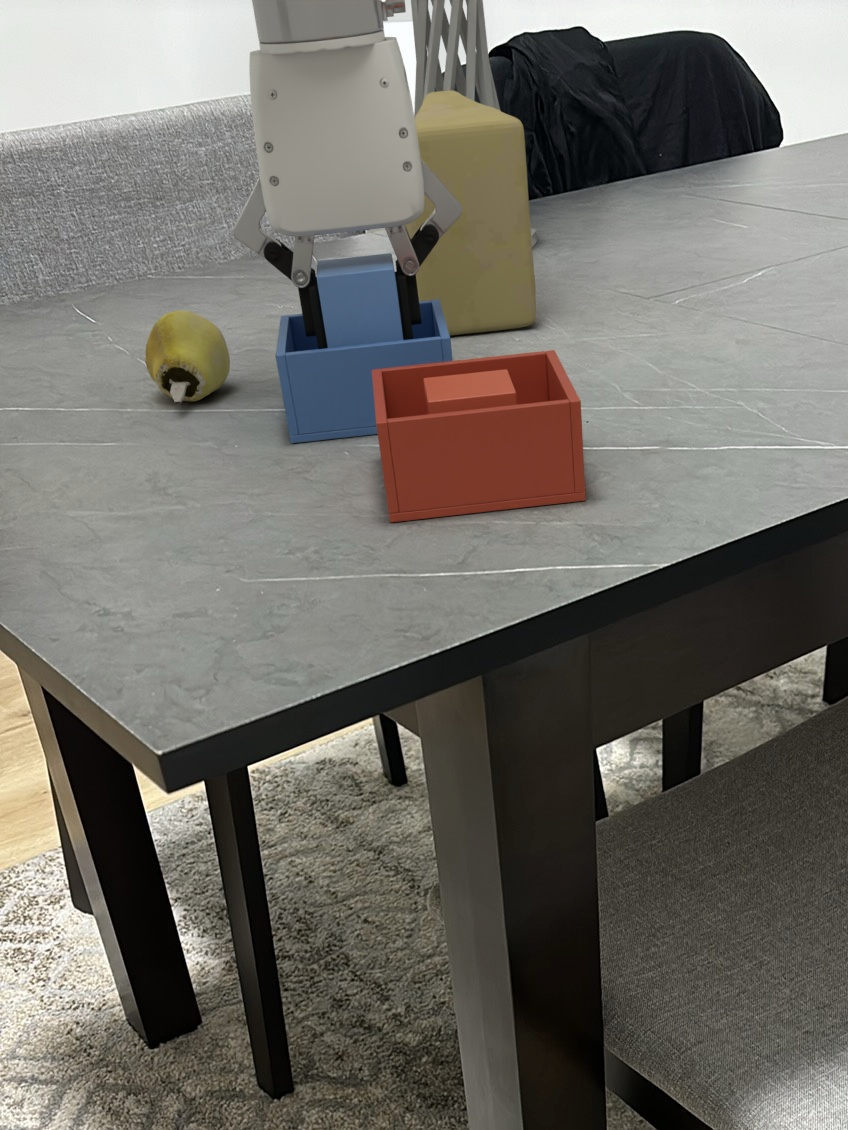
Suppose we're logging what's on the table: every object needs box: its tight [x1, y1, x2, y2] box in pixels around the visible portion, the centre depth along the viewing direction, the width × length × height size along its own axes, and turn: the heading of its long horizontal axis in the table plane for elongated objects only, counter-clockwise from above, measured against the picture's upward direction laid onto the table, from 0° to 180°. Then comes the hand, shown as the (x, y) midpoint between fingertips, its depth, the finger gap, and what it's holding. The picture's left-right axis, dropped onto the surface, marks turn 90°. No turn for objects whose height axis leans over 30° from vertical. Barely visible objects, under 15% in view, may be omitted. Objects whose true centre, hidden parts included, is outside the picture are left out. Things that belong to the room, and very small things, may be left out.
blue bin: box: [275, 299, 454, 444], centre depth 95 cm, size 11×11×6 cm
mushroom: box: [144, 309, 231, 405], centre depth 100 cm, size 6×6×10 cm
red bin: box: [372, 349, 587, 523], centre depth 81 cm, size 11×11×6 cm
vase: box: [410, 0, 538, 248], centre depth 129 cm, size 14×13×35 cm
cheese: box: [405, 90, 537, 337], centre depth 115 cm, size 22×10×15 cm, turn 7°
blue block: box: [316, 252, 403, 348], centre depth 92 cm, size 5×5×5 cm
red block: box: [423, 369, 517, 415], centre depth 81 cm, size 5×5×5 cm
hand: (365, 338), depth 93 cm, fingers closed on blue block, 5 cm apart
